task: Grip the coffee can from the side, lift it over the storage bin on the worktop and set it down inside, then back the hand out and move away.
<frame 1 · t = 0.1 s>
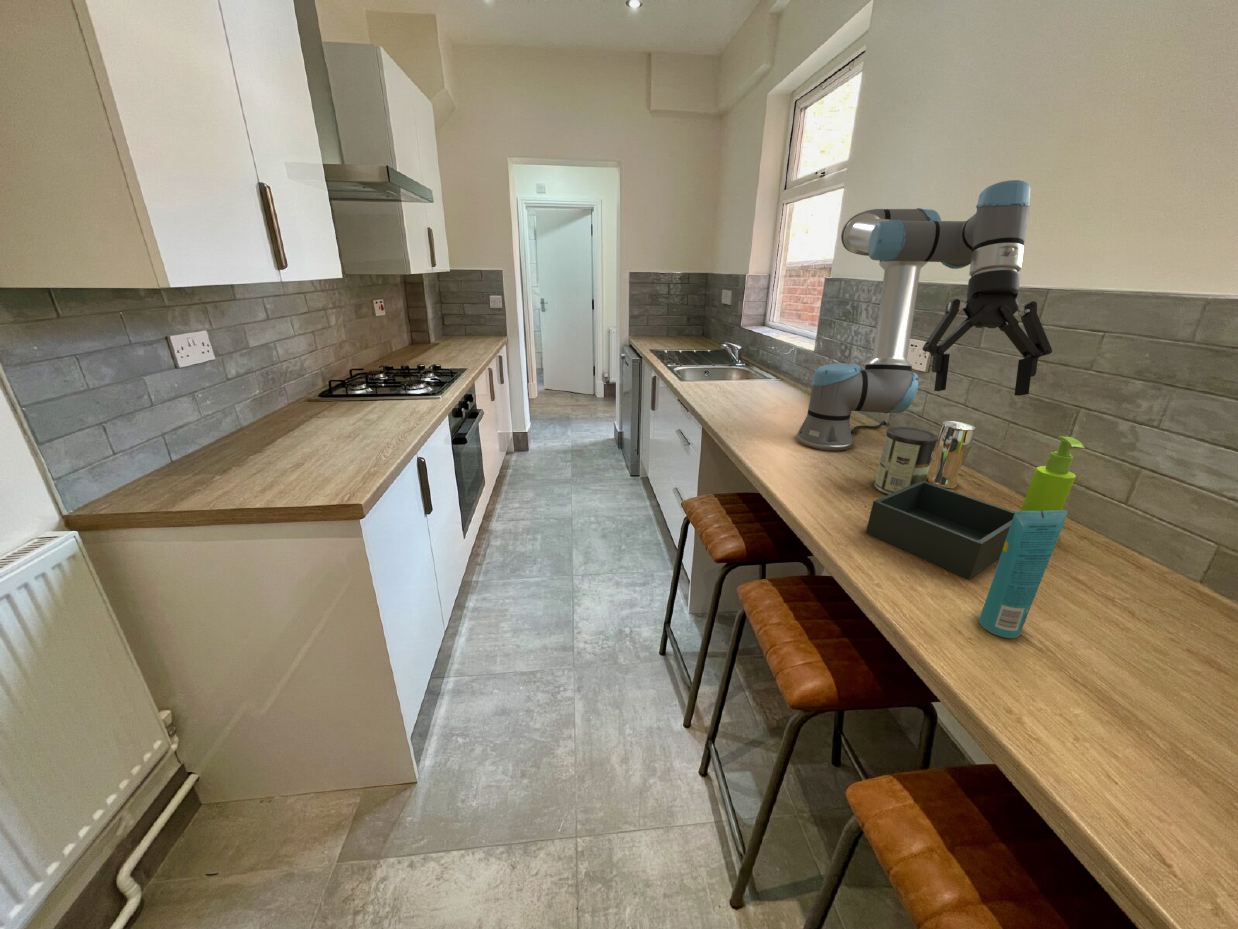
hand: (980, 392, 90), 28 cm above the table, tool tilted 20°, fingers open, 13 cm apart
silver metal cylinder: (941, 484, 120), on the table
soap dispenser: (1033, 533, 98), on the table
storage bin: (938, 540, 95), on the table
tube: (996, 628, 72), on the table
coffee can: (897, 489, 117), on the table
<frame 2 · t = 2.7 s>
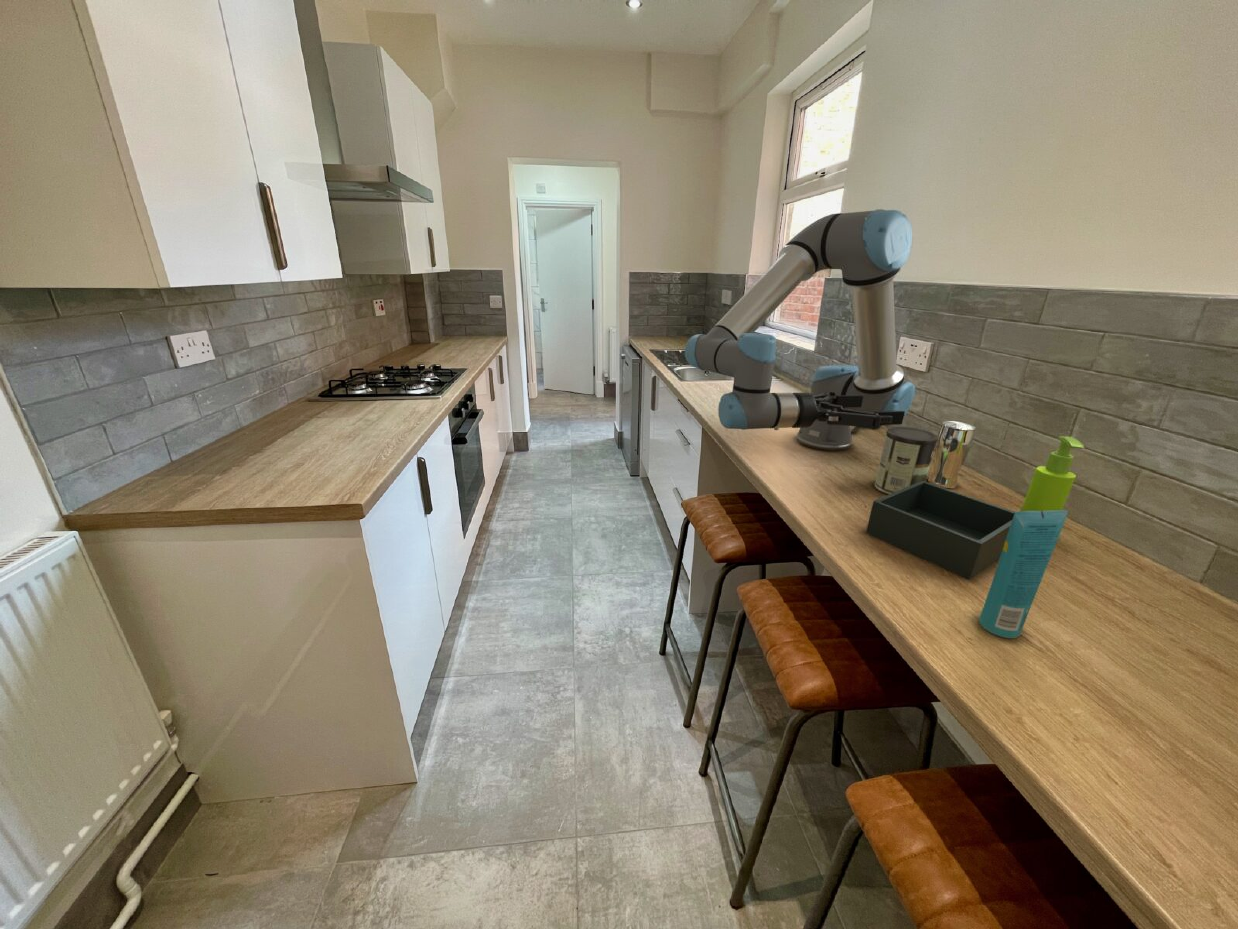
hand: (880, 408, 107), 20 cm above the table, tool horizontal, fingers open, 13 cm apart
nothing on the table moved.
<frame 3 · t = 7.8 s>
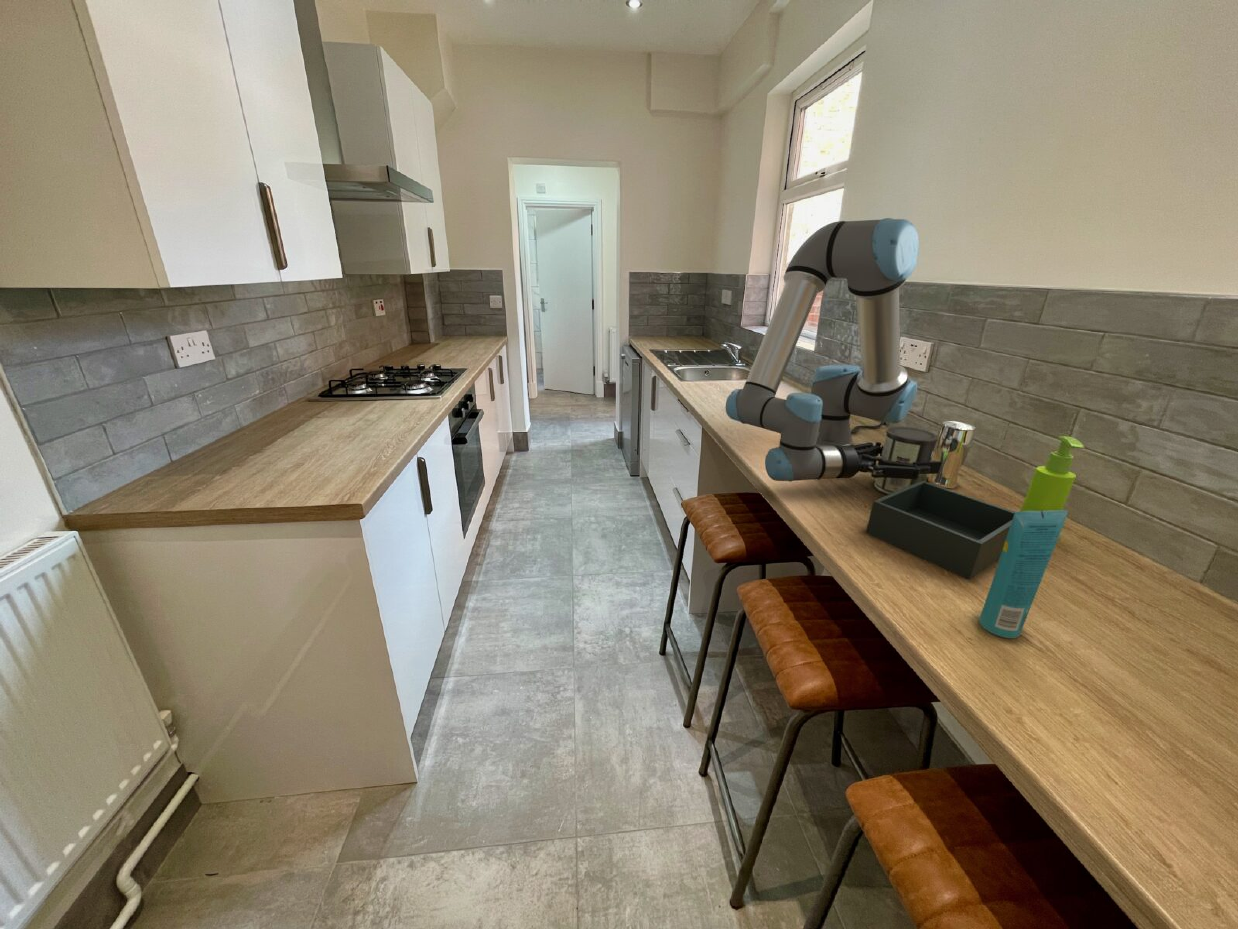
hand: (921, 458, 114), 8 cm above the table, tool horizontal, fingers closed on coffee can, 10 cm apart
coffee can: (897, 489, 117), on the table, touching gripper
everything else where it was.
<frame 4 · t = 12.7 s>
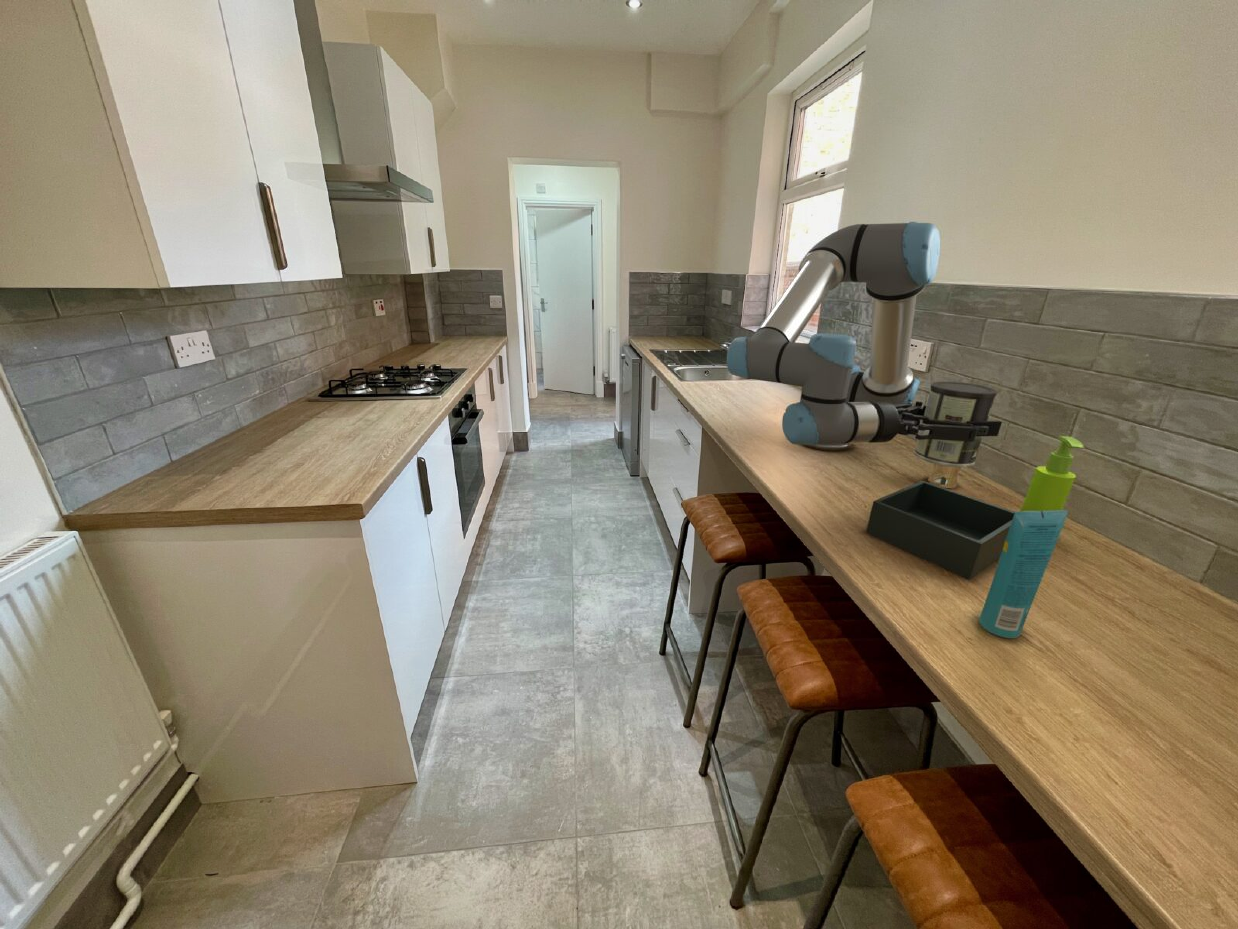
hand: (973, 419, 93), 22 cm above the table, tool horizontal, fingers closed on coffee can, 10 cm apart
coffee can: (942, 458, 95), point 14 cm above the table, touching gripper
everything else where it was.
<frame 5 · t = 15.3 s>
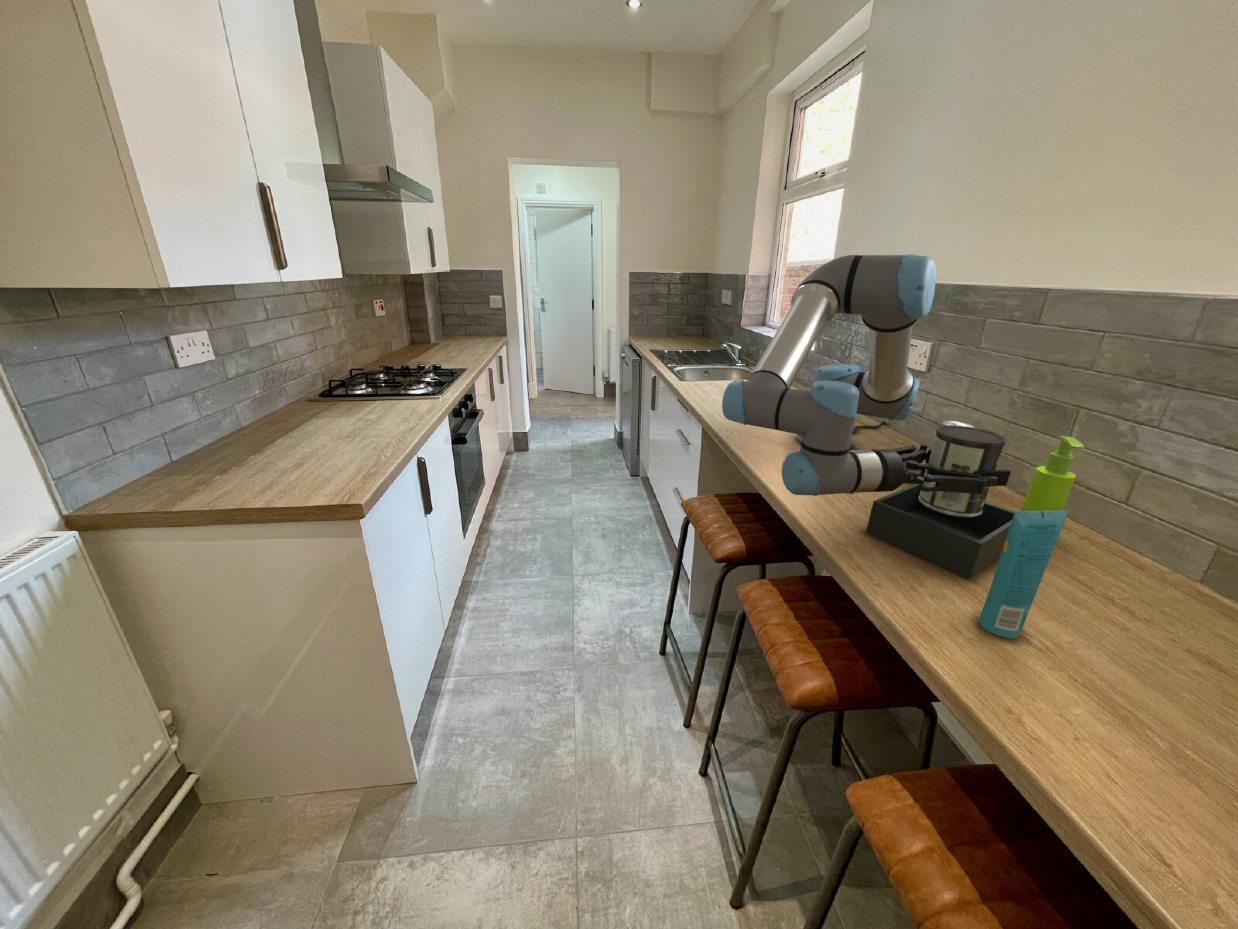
hand: (981, 466, 89), 15 cm above the table, tool horizontal, fingers closed on coffee can, 10 cm apart
coffee can: (948, 505, 92), point 8 cm above the table, touching gripper
everything else where it was.
when the fingers open (9 cm above the table, at t = 17.8 s): coffee can stays where it is, resting on storage bin.
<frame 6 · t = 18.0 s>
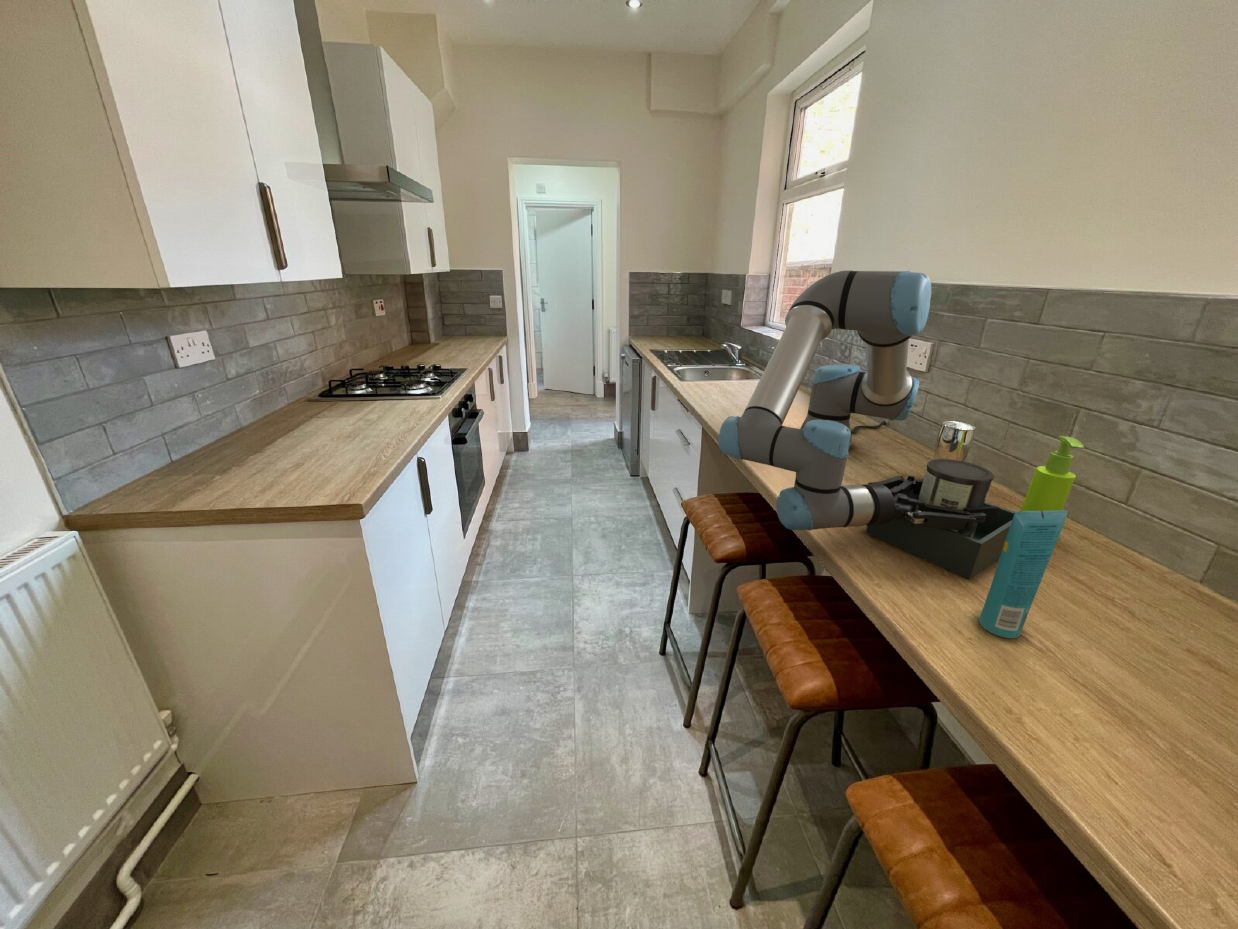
hand: (968, 499, 92), 9 cm above the table, tool horizontal, fingers open, 11 cm apart
coffee can: (938, 536, 94), point 1 cm above the table, touching storage bin
everything else where it was.
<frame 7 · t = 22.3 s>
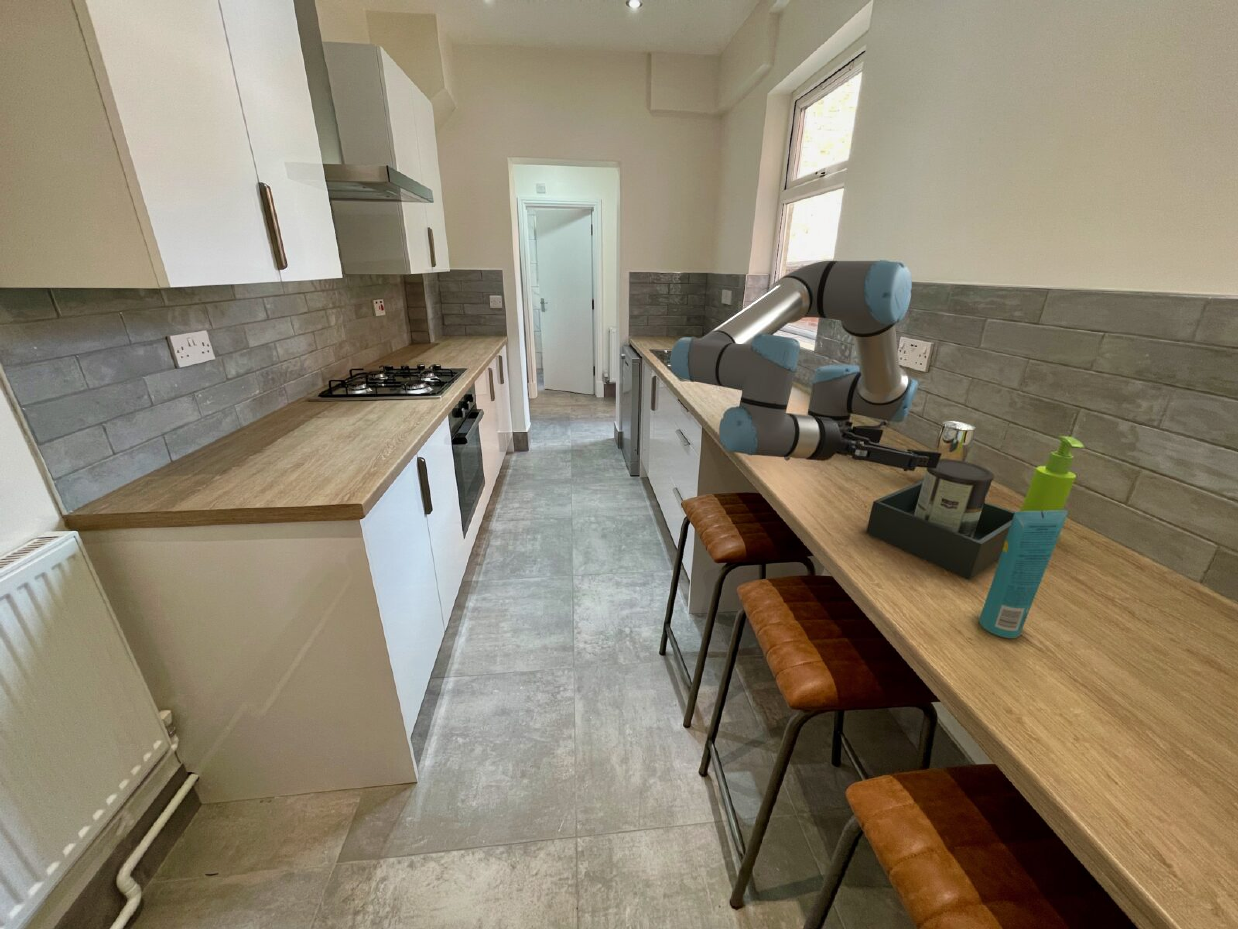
hand: (906, 447, 89), 18 cm above the table, tool horizontal, fingers open, 13 cm apart
nothing on the table moved.
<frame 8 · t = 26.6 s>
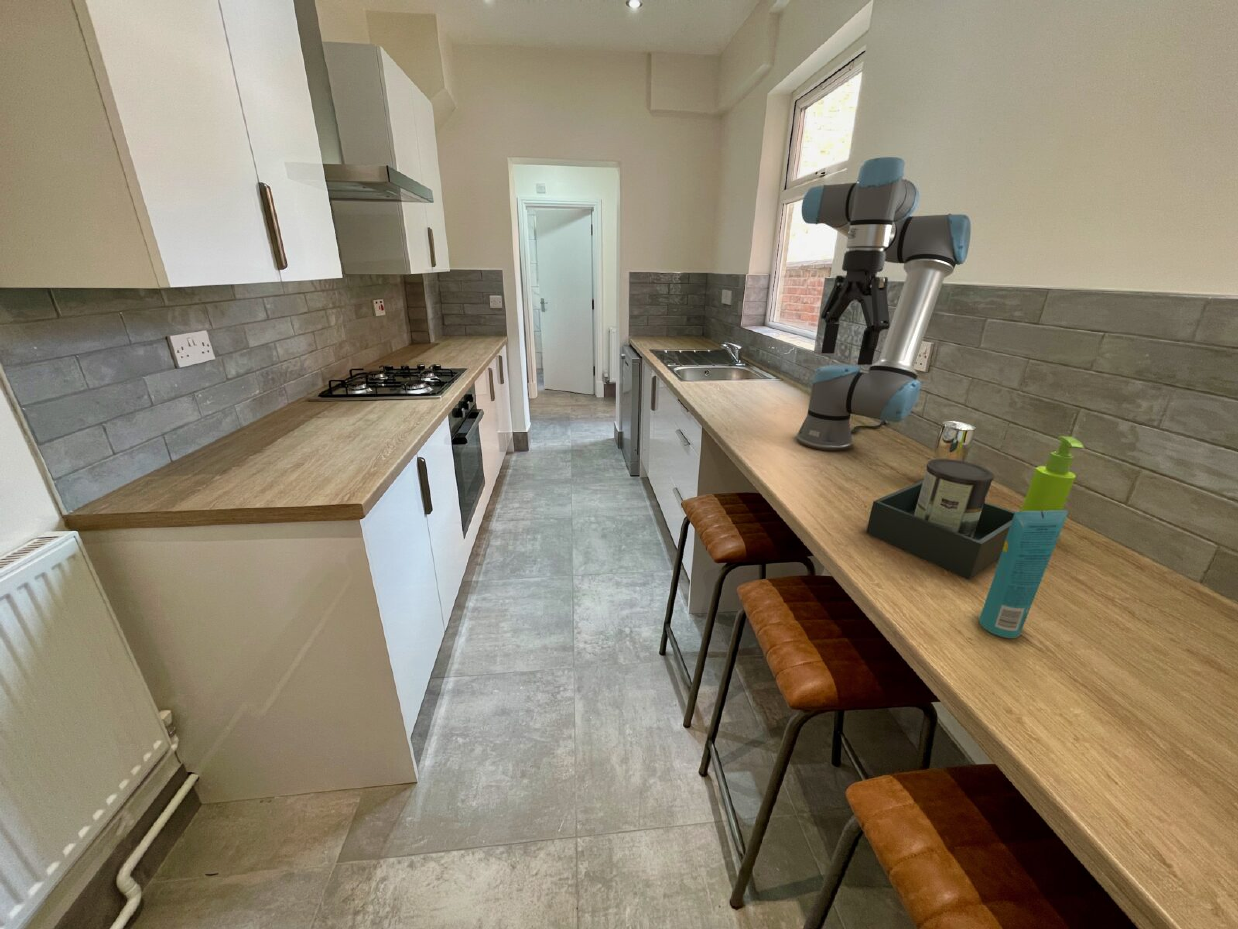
hand: (844, 358, 104), 31 cm above the table, tool pointing down, fingers open, 13 cm apart
nothing on the table moved.
at the end: coffee can inside the target area in the storage bin (0.1 cm from its centre), point 0.8 cm above the storage bin's base; the gripper is holding nothing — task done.
